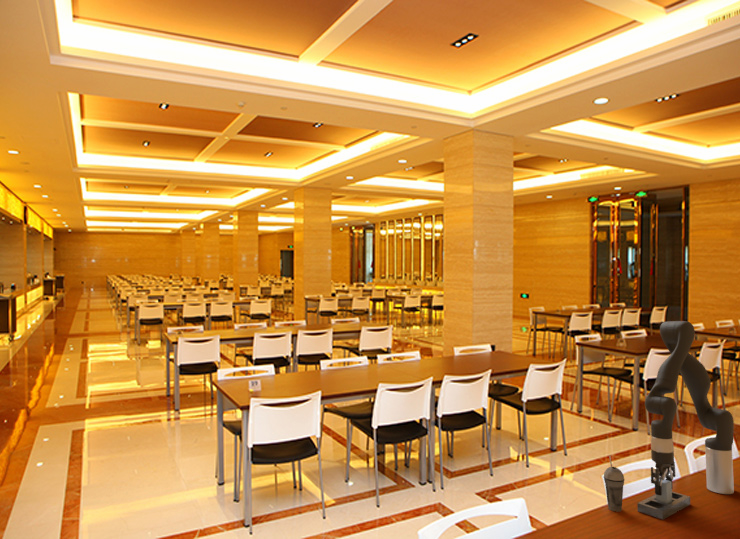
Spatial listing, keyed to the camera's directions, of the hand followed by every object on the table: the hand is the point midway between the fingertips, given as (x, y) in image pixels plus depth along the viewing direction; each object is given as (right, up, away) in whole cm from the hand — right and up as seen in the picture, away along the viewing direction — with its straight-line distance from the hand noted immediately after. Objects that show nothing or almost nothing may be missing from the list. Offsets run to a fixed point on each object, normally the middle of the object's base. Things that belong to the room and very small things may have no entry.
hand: (663, 492), depth 193 cm
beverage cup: (-19, -6, -1) cm, 20 cm away
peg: (0, -6, 0) cm, 6 cm away
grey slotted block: (0, -6, 0) cm, 6 cm away
